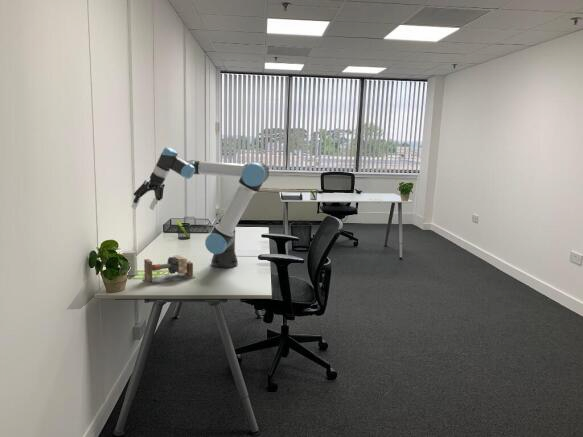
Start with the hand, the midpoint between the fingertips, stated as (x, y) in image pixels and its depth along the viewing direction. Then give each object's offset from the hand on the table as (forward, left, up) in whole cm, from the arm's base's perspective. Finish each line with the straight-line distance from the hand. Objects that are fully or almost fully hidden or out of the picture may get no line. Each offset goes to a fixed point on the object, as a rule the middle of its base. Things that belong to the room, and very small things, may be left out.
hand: (142, 208), depth 237 cm
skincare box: (+5, +16, -33) cm, 37 cm away
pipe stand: (-15, +26, -32) cm, 44 cm away
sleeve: (-20, +24, -29) cm, 43 cm away
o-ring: (-16, +25, -29) cm, 42 cm away
